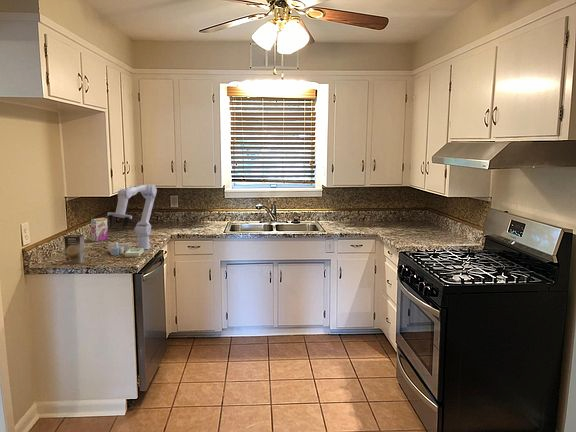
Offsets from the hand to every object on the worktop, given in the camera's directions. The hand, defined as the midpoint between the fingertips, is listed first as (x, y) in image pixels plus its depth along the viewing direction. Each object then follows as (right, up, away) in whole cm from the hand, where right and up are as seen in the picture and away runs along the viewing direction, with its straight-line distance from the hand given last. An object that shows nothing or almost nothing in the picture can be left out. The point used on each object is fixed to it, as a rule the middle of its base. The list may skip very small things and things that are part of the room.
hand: (117, 228), depth 276 cm
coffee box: (-20, -20, -12) cm, 31 cm away
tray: (+8, -17, +9) cm, 21 cm away
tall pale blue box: (-5, -17, +12) cm, 21 cm away
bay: (-5, -16, +15) cm, 23 cm away
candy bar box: (-34, -11, +55) cm, 66 cm away
